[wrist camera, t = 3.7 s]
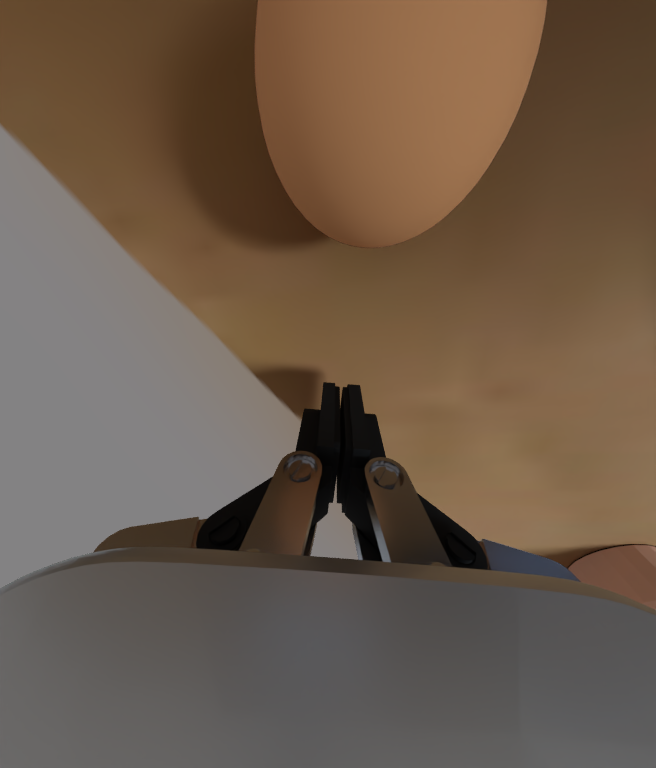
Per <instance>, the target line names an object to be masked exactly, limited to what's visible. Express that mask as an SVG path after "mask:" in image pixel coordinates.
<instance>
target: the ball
mask: <svg viewBox="0 0 656 768" xmlns="http://www.w3.org/2000/svg"><path fill="white" fill-rule="evenodd" d="M546 7H547V0H258V4H257V18H256V31H255V81H256V91H257V102H258V107H259V112H260V118H261V123H262V129H263V134H264V137H265V141H266V145H267V148H268V152H269V155H270V157H271V160H272V163H273V165H274V168H275V170H276V173H277V175H278V177H279V179H280V181H281V183H282V185H283V187H284V189H285V191H286V192H287V194H288V195H289V197H290V199H291V200H292V202H293V203H294V205H295V206H296V207H297V209H298V210H299V211H300V212H301V213H302V215H303V216H304V217H305V218H306V219H307V220H308V221H309V222H310V223H311V224H312V225H313V226H314V227H315V228H317V229H318V230H320V231H321V232H322V233H324V234H325V235H327V236H328V237H330V238H332V239H334V240H336V241H338V242H341V243H344V244H347V245H350V246H355V247H361V248H380V247H387V246H391V245H395V244H398V243H402V242H404V241H406V240H409V239H411V238H413V237H416V236H418V235H420V234H421V233H423V232H425V231H426V230H428V229H430V228H431V227H433V226H434V225H435V224H437V223H438V222H439V221H441V220H442V219H443V218H444V217H446V216H447V215H448V214H449V213H450V212H451V211H452V210H453V209H454V208H455V207H456V206H457V205H458V204H459V203H460V202H461V201H462V200H463V199H464V198H465V197H466V196H467V194H468V193H469V192H470V191H471V190H472V189H473V187H474V186H475V185H476V184H477V182H478V181H479V180H480V178H481V177H482V175H483V174H484V173H485V171H486V170H487V168H488V167H489V165H490V164H491V162H492V160H493V159H494V157H495V155H496V153H497V152H498V150H499V148H500V147H501V145H502V143H503V142H504V140H505V138H506V136H507V134H508V132H509V130H510V128H511V126H512V123H513V121H514V119H515V117H516V115H517V112H518V110H519V107H520V105H521V102H522V99H523V97H524V94H525V92H526V89H527V86H528V83H529V80H530V77H531V73H532V70H533V67H534V63H535V60H536V57H537V53H538V50H539V45H540V40H541V36H542V31H543V26H544V22H545V15H546Z"/></svg>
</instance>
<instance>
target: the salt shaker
mask: <svg viewBox="0 0 656 768" xmlns="http://www.w3.org/2000/svg"><path fill="white" fill-rule="evenodd" d="M568 570H569V571H571V572H572V573H573V574H574V575H575V576H576V577H577V578H578V579H579V580H580V581H581V582H582V583H586V584H590V585H594V586H597V587H600V588H603V589H606V590H609V591H612V592H615V593H618V594H620V595H623V596H626V597H628V598H630V599H632V600H635V601H637V602H639V603H641V604H644V605H646V606H648V607H651V608H653V609H655V610H656V547H654V546H649V545H629V546H620V547H614V548H609V549H605V550H601V551H598V552H595V553H592V554H590V555H587V556H584V557H583V558H581V559H579V560H577V561H576V562H574V563H573V564H572V565H571V566H570V567H569V568H568Z"/></svg>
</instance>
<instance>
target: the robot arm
mask: <svg viewBox="0 0 656 768" xmlns="http://www.w3.org/2000/svg"><path fill="white" fill-rule="evenodd" d="M336 477H337V503H342V513H345V515H346V516H347V518H348V519H349V520H350V521H351V522H352V530H353V535H354V540H355V544H356V550H357V555H358V560H354V559H340V558H327V557H314V556H310V555H311V550H312V546H313V542H314V537H315V533H316V528H317V522H318V521H320V520H321V519H322V518H323V517H324V516H325V515H326V514H327V513H328V504H329V503H333V498H334V491H335V484H336ZM0 768H656V610H655V609H653V608H651V607H648V606H646V605H644V604H641V603H639V602H637V601H635V600H632V599H630V598H628V597H626V596H623V595H620V594H618V593H615V592H612V591H609V590H606V589H603V588H600V587H597V586H594V585H590V584H586V583H582V582H581V581H580V580H579V579H578V578H577V577H576V576H575V575H574V574H573V573H572V572H571V571H569V570H568V569H566V568H565V567H564V566H562V565H561V564H559V563H557V562H555V561H553V560H551V559H548V558H545V557H541V556H538V555H535V554H531V553H528V552H525V551H522V550H518V549H515V548H512V547H509V546H505V545H502V544H499V543H495V542H492V541H489V540H486V539H482V540H481V541H477V540H476V539H475V538H474V537H473V536H472V535H471V534H470V533H468V532H467V531H466V530H465V529H463V528H462V527H461V526H459V525H458V524H457V523H456V522H454V521H453V520H452V519H450V518H449V517H448V516H446V515H445V514H444V513H442V512H441V511H440V510H439V509H437V508H436V507H435V506H433V505H432V504H431V503H429V502H428V501H427V500H425V499H424V498H423V497H422V496H420V495H419V494H418V493H417V492H416V490H415V488H414V486H413V484H412V482H411V480H410V478H409V476H408V474H407V472H406V471H405V469H404V468H403V467H402V466H401V465H400V464H399V463H397V462H396V461H394V460H392V459H389V458H386V456H385V451H384V447H383V443H382V439H381V434H380V430H379V426H378V422H377V417H376V415H375V414H365V413H364V407H363V401H362V395H361V389H360V385H350V384H348V386H347V387H343V390H342V398H341V406H340V387H337V386H335V383H326V382H324V383H323V393H322V402H321V410H315V409H304V412H303V417H302V422H301V427H300V432H299V437H298V442H297V446H296V451H295V452H292V453H290V454H287V455H286V456H285V457H284V458H283V459H282V460H281V462H280V463H279V465H278V467H277V469H276V471H275V474H274V476H273V477H271V478H270V479H268V480H267V481H265V482H263V483H262V484H260V485H259V486H257V487H255V488H254V489H252V490H251V491H249V492H248V493H246V494H244V495H242V496H241V497H239V498H238V499H236V500H235V501H233V502H231V503H230V504H228V505H226V506H225V507H223V508H222V509H220V510H218V511H217V512H216V513H214V514H213V515H211V516H210V517H209V518H208V519H203V520H199V517H193V518H187V519H180V520H174V521H167V522H161V523H154V524H147V525H141V526H134V527H129V528H126V529H123V530H119V531H118V532H116V533H114V534H112V535H111V536H109V537H108V538H106V539H105V540H104V541H103V542H102V543H101V544H100V545H99V546H98V547H97V548H96V549H95V551H94V552H93V553H89V554H85V555H82V556H77V557H74V558H70V559H67V560H64V561H62V562H58V563H55V564H52V565H50V566H48V567H44V568H42V569H39V570H37V571H34V572H32V573H30V574H28V575H25V576H23V577H21V578H19V579H17V580H15V581H13V582H11V583H10V584H8V585H6V586H4V587H2V588H1V589H0Z"/></svg>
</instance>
